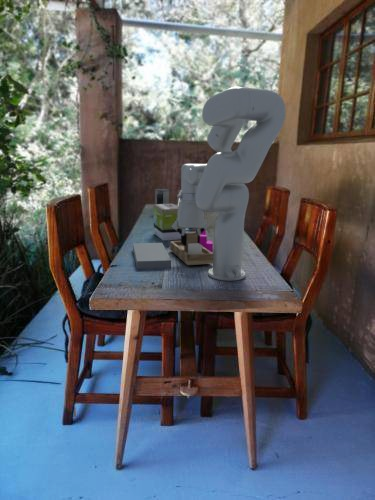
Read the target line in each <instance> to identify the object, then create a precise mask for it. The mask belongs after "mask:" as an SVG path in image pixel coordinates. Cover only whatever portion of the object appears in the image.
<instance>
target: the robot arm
mask: <svg viewBox="0 0 375 500" xmlns="http://www.w3.org/2000/svg"><path fill="white" fill-rule="evenodd" d="M286 113H287V110H286V104H285V101H284V99H283V97H282V96H281V95H280V94H279V93H277V92H275V91H272V90H269V89H263V88H255V87H253V88H252V87H246V86H243V87H242V86H232V87H230V88H227V89H224V90H223V91H220V92H218V93H216V94H213V95H212V96H210V97H209V98H208V99H207V100H206V101H205V103H204V105H203V107H202V115H201V117H202V119H203V122H204V123H205V124H206V125H207V126H211V129H210V131H209V133H208V135H207V139H206V141H207V145H208V146H209V147H210V148H211V149H213V150H214V151H215V152H216V153H214V154H213V155H211V157H210V158H209V159H208V161H207V163H184V164H182V166H181V170H180V171H181V172H180V173H181V177H180V179H181V180H180V181H181V182H180V184H181V186H180V193H179V194H177V196H176V197H177V199H180V200H179V202H178V205H177V206H178V214H177V220H176V221H175V223H174V224H173V225H172V228H174V229H175V230H177V231H178V232H179V233H180V234H181V239H180V241H181V243H182V244H183V246H186V236H185V232H186V230H187V229H195V233H197V234H198V239H197V243H200V235H201V233H202V232H203V231H204V230H207V229H209V227H210V225H209V224H208V222H207V221H206V215H205V213H217V212H219V213H218V215H216V219H215V223H214V230H213V232H214V233H213V234H214V235H213V236H214V237H213V251H212V253H213V263H212V267H211V268H209V269H208V270H207V275H208V276H209V277H210V278H212V279H215V280H219V281H226V282H227V281H228V282H233V281H240V280H243V279H244V278H245V277H246V272H245V271H244V270H243V269H242V259H243V257H242V256H243V242H244V229H245V219H246V218H245V217H246V213H247V212H246V211H247V207H248V204H249V199H250V192H249V188H248V187H247V185H246V184H248V183H251V182H252V181H253V180H254V179H255V177H256V176H257V174H258V172H259V170H260V168H261V167H262V165H263V162H264V161H265V158H266V157H267V154H268V152H269V150H270V148H271V146H272V145H273V143H274V142H275V141H276V139H277V137H278V136H279V134H280V132H281V131H282V128H283V126H284V124H285V120H286ZM246 121H251V122H252V121H253V122H254V121H255V123H254V124H253V125H252V126H251V127H250V128H249V129H248V130H246V132H245V133H244V134H243V136H242V137H241V139H240V142H239V144H238V146H237V147H236V149H235V150H233V151H232V147H233V146H234V143H235V141H236V139H237V138H238V136H239V134H240V132H241V130H242V128H243V126H244V124H245V123H246ZM177 225H178V226H179V227H180V228H181V230H180V229H179V228H178V227H177Z"/></svg>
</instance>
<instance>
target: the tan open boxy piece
mask: <svg viewBox="0 0 375 500" xmlns="http://www.w3.org/2000/svg"><path fill="white" fill-rule="evenodd" d="M185 236H186V246H183V244H182V243H181V240H169V250H170V252H172V253H173V254H174V255H175V256H176V257H178V258H179V260H182V262H184V264H186V265H187V266H194V265H197V266H198V265H207V264H208V265H209V264H213V251H212V252H210V251H209V250H207V249H206V248H204V247H203V246H202V254H193V255H189V254H188V244H191V243H197V239H198V234H197V233H196V231H185Z"/></svg>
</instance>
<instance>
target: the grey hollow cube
mask: <svg viewBox="0 0 375 500" xmlns="http://www.w3.org/2000/svg"><path fill="white" fill-rule="evenodd" d="M154 191H155V193H154V195H155V196H154V204H170V201H169V199H170V198H169V197H170V196H169V195H170V189H167V188H156V189H154Z"/></svg>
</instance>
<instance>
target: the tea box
mask: <svg viewBox="0 0 375 500" xmlns="http://www.w3.org/2000/svg"><path fill="white" fill-rule="evenodd" d="M178 206H179V205H176V204H174V203H169V204H155V203H154V204H153V207H152V208H153V235H156V236H157V237H158V238H159V239H160V240H161V241H180V240H181V234H180V233H179V232H178V231H177V230H175V229H174V228H172V225H173V224H174V223H175V221H176V220H177V214H178ZM177 227H178V228H179V229H180V230H181V228H180V227H179V226H178V225H177Z"/></svg>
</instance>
